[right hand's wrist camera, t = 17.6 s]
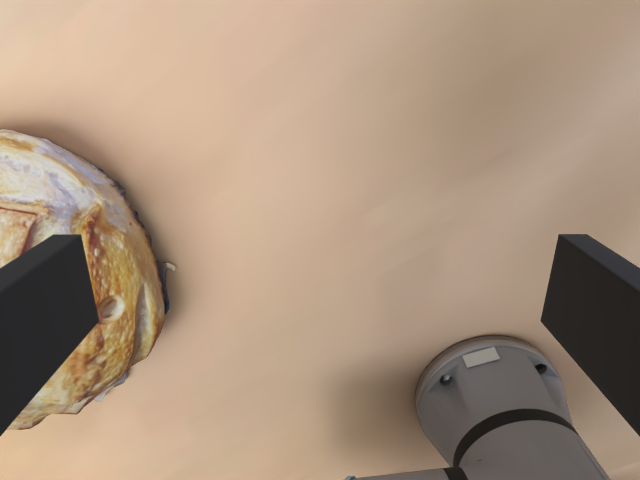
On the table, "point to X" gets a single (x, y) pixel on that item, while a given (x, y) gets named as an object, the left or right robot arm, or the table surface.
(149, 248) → the bread
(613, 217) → the table surface
